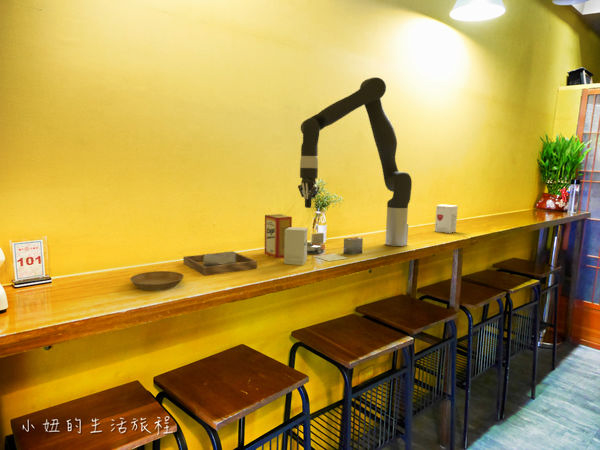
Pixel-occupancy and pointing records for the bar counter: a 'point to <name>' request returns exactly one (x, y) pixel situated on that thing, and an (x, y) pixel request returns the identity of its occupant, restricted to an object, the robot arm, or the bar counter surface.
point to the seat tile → (330, 257)
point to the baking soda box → (276, 234)
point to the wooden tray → (243, 265)
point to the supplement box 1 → (295, 246)
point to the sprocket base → (315, 252)
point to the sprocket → (316, 243)
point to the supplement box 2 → (446, 218)
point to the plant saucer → (156, 280)
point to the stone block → (219, 259)
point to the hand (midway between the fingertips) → (307, 207)
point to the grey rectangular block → (353, 245)
